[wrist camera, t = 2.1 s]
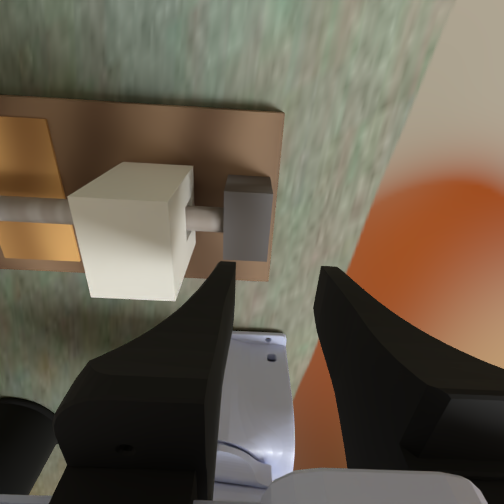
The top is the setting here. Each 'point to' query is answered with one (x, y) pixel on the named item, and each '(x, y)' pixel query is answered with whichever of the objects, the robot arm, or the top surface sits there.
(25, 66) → the top surface
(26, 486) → the aerosol can
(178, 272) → the sleeve
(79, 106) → the rail board
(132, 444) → the robot arm
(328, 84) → the top surface
